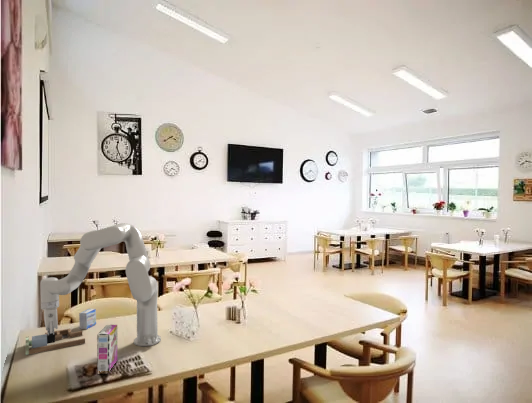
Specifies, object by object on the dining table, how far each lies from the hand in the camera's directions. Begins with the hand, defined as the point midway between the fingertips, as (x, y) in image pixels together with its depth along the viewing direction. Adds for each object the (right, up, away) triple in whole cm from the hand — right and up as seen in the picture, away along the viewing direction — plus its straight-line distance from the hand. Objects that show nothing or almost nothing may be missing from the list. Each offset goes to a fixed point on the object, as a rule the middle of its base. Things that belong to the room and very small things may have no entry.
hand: (51, 342), depth 180 cm
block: (-4, -2, -3) cm, 5 cm away
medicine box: (+6, -1, +24) cm, 25 cm away
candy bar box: (+37, -2, -23) cm, 43 cm away
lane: (0, -1, +3) cm, 4 cm away
